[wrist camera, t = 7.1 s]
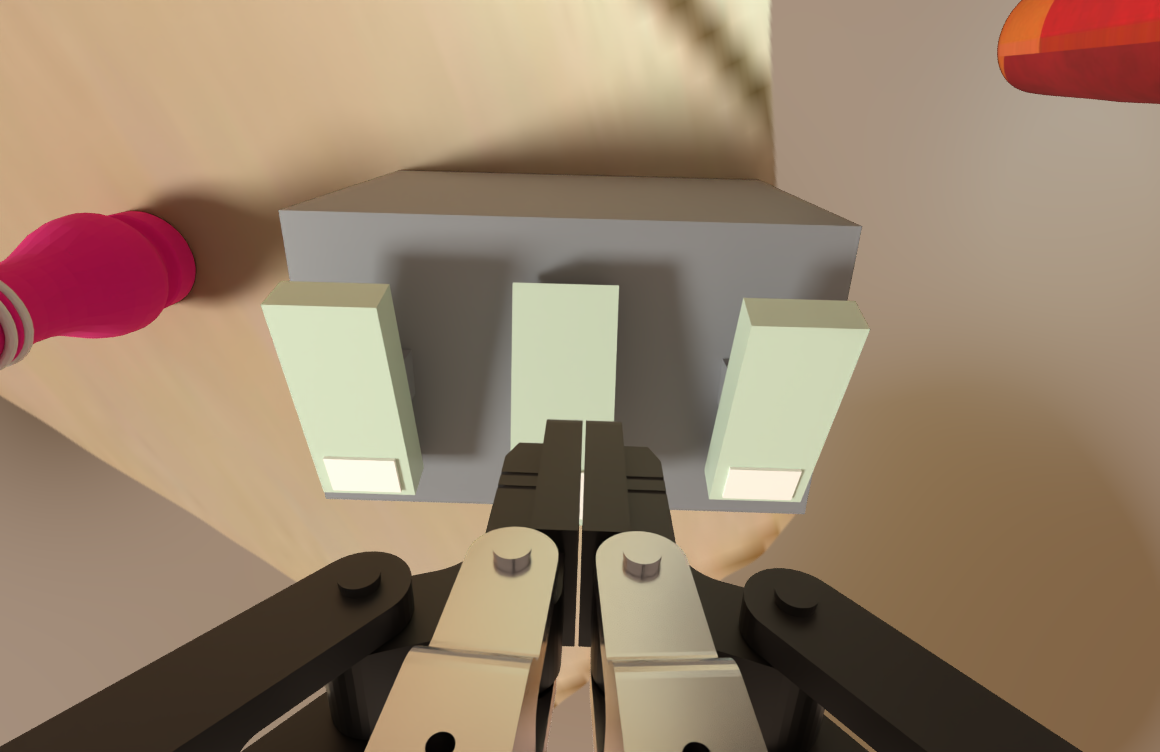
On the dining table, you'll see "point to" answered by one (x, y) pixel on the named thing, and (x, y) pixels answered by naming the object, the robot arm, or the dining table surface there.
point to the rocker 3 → (781, 395)
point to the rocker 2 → (562, 358)
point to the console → (569, 256)
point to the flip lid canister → (1084, 49)
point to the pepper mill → (90, 279)
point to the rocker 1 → (348, 383)
